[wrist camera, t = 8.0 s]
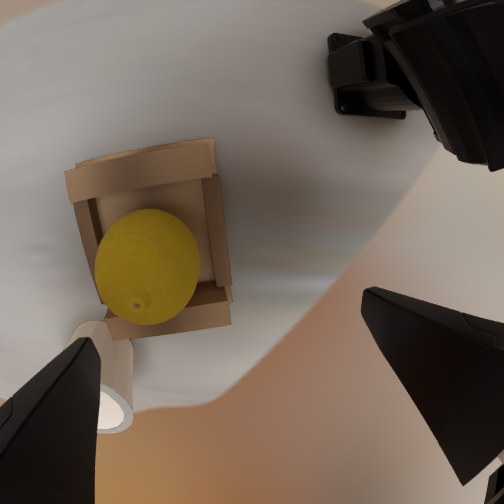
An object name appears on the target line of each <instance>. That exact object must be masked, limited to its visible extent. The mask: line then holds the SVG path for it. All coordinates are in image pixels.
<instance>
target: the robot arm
mask: <svg viewBox="0 0 504 504" xmlns="http://www.w3.org/2000/svg"><path fill="white" fill-rule="evenodd" d="M362 22H363V23H364V25H365V26H366V27H367V28H370V30H371V31H372V32H373V34H372V35H370V36H367V37H365V38H361V37H356V36H351V35H345V34H339V33H333V34H331V35H329V37H328V42H329V49H330V54H329V64H330V73H331V83H332V86H333V87H334V95H335V108H336V111H337V112H338V113H339V114H341V115H355V116H369V117H381V118H391V119H405V117H406V110H423V111H424V113H425V114H426V116H427V118H428V120H429V122H430V124H431V126H432V128H433V130H434V132H433V133H434V135H435V137H436V140H437V141H439V142H441V143H442V144H443V146H444V148H445V149H446V150H448V151H449V152H451V153H452V154H454V155H456V156H457V158H458V160H459V161H462V162H465V163H470V164H480V165H488V169H489V170H490V171H491V172H494V171H497V170H500V169H503V168H504V0H401V1H399V2H397V3H395V4H393V5H391V6H389V7H387V8H385V9H383V10H381V11H379V12H378V13H376V14H374V15H372V16H371V17H369V18H367V19H365V20H364V21H362ZM334 37H335V38H336V39H337V41H335V40H334ZM342 105H343V106H344V108H345V109H344V111H343V110H342V109H341V106H342ZM400 112H401V116H400ZM361 314H362V317H363V319H364V321H365V323H366V324H367V326H368V328H369V330H370V332H371V333H372V336H373V338H374V339H375V342H376V343H377V345H378V347H379V349H380V350H381V352H382V354H383V355H384V357H385V358H386V360H387V361H388V363H389V364H390V366H391V367H392V369H393V370H394V372H395V373H396V375H397V376H398V378H399V380H400V381H401V383H402V384H403V386H404V387H405V389H406V390H407V392H408V394H409V395H410V397H411V398H412V400H413V402H414V403H415V405H416V406H417V408H418V410H419V411H420V413H421V415H422V416H423V418H424V419H425V421H426V423H427V425H428V426H429V428H430V430H431V431H432V433H433V435H434V436H435V438H436V440H438V443H439V445H440V447H441V449H442V450H443V452H444V454H445V455H446V457H447V459H448V461H449V463H450V464H451V466H452V468H453V470H454V471H455V473H456V475H457V477H458V479H459V481H460V483H461V484H462V486H464V485H465V484H467V483H468V482H469V481H471V480H472V479H473V478H474V477H475V476H476V475H478V474H479V473H480V472H481V471H482V470H483V469H484V468H486V467H487V466H488V465H489V464H490V463H491V462H492V461H493V460H494V459H495V458H496V457H498V458H499V459H500V461H501V462H502V463H503V464H502V465H501V466H500V467H499V468H498V469H497V470H496V471H495V472H494V473H493V474H491V475H490V477H489V481H488V486H487V492H486V497H485V502H484V504H504V323H501V322H497V321H492V320H488V319H484V318H480V317H477V316H473V315H469V314H466V313H461V312H459V311H456V310H453V309H449V308H446V307H442V306H439V305H436V304H432V303H429V302H426V301H423V300H419V299H415V298H412V297H409V296H406V295H402V294H399V293H395V292H392V291H389V290H385V289H382V288H378V287H371V288H366V289H365V290H364V291H363V297H362V304H361ZM100 384H101V358H100V355H99V353H98V351H97V349H96V347H95V345H94V342H93V340H92V339H91V338H90V337H80V338H78V339H76V340H75V341H74V342H73V343H72V344H71V345H69V346H68V347H67V348H66V349H65V350H63V351H62V352H61V353H60V354H59V355H58V356H56V357H55V358H54V359H53V360H52V361H51V362H50V363H48V364H47V365H46V366H45V367H44V368H43V369H42V370H40V371H39V372H38V373H37V374H36V375H35V376H34V377H33V378H31V379H30V380H29V381H28V382H27V383H26V384H25V385H24V386H22V387H21V388H20V389H19V390H18V391H17V392H16V393H15V394H14V395H13V397H10V398H9V399H8V400H7V401H6V402H5V403H4V404H3V405H2V406H1V407H0V504H95V456H96V440H97V428H98V417H99V408H100Z"/></svg>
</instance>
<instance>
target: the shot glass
mask: <svg viewBox="0 0 504 504" xmlns="http://www.w3.org/2000/svg"><path fill="white" fill-rule="evenodd" d="M80 337H90V338H91V339H92V340H93V342H94V345H95V347H96V349H97V351H98V353H99V355H100V358H101V384H100V408H99V417H98V428H97V433H110V434H112V433H116V432H120V431H124V430H125V429H126V428H128V427H129V426H130V425H131V424H132V419H133V354H134V349H133V347H132V344H131V341H130V339H125V340H116V341H113V339H112V336H111V334H110V331H109V329H108V327H107V324H106V322H102V321H99V320H97V321H86V322H85V323H83V324H81V325H79V326H78V327H77V329H76V330H75V332H74V334H73V335H72V337H71V338H70V340H69V341H68V343H67V345H66V346H65V348H64V350H65V349H66V348H67V347H68V346H69V345H71V344H72V343H73V342H74V341H75V340H76V339H78V338H80Z"/></svg>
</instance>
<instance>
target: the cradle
mask: <svg viewBox="0 0 504 504" xmlns="http://www.w3.org/2000/svg"><path fill="white" fill-rule="evenodd" d="M64 172H65V178H66V184H67V189H68V195H69V200H70V203H73V205H74V210H75V214H76V219H77V223H78V227H79V231H80V235H81V239H82V243H83V247H84V250H85V254H86V257H87V261H88V264H89V267H90V271H91V274H92V277H93V280H94V283H95V286H96V289H97V292H98V295H99V298H100V301H101V304H105V303H104V301H103V299H102V298H101V296H100V294H99V291H98V288H97V285H96V281H95V259H96V255H97V251H98V248H99V244H100V242H101V240H102V238H103V237H104V235H105V234H106V232H107V230H108V229H109V228H110V226H112V225H113V224H114V223H115V222H116V221H117V220H118V219H119V218H121V217H122V216H124V215H126V214H128V213H130V212H132V211H136V210H141V209H146V208H147V209H159V210H162V211H165V212H168V213H171V214H172V215H174V216H175V217H177V218H178V219H180V220H181V221H182V222H183V223H184V224H185V225H186V226H187V227H188V228H189V230H190V231H191V233H192V235H193V237H194V239H195V241H196V243H197V247H198V251H199V255H200V274H199V278H198V282H197V285H196V288H195V291H194V293H193V295H192V297H191V298H190V300H189V302H188V303H187V305H186V306H185V307H184V308H183V309H182V310H181V311H180V312H179V313H178V314H177V315H176V316H175V317H173V318H171V319H169V320H167V321H165V322H162V323H158V324H155V325H139V324H134V323H131V322H128V321H126V320H123V319H122V318H120V317H119V316H117V315H116V314H114V313H113V312H112V311H111V310H110V309H109V308H108V310H107V313H106V316H105V318H104V319H105V322H106V324H107V327H108V329H109V331H110V334H111V336H112V339H113V341H116V340H125V339H134V338H143V337H151V336H159V335H166V334H174V333H181V332H188V331H194V330H201V329H207V328H213V327H219V326H225V325H231V324H232V323H231V317H230V310H229V303H231V302H233V301H232V294H231V286H230V285H232V279H231V271H230V263H229V255H228V247H227V239H226V230H225V222H224V213H223V204H222V195H221V186H220V176H219V175H218V174H217V168H216V159H215V149H214V139H213V138H208V139H200V140H192V141H185V142H178V143H172V144H166V145H160V146H154V147H149V148H143V149H138V150H133V151H128V152H124V153H119V154H114V155H110V156H106V157H101V158H97V159H93V160H89V161H85V162H82V163H78V164H76V168H74V169H71V170H68V171H64Z"/></svg>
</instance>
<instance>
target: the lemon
mask: <svg viewBox="0 0 504 504" xmlns="http://www.w3.org/2000/svg"><path fill="white" fill-rule="evenodd" d="M199 274H200V255H199V251H198V247H197V243H196V241H195V239H194V237H193V235H192V233H191V231H190V230H189V228H188V227H187V226H186V225H185V224H184V223H183V222H182V221H181V220H180V219H178V218H177V217H175V216H174V215H172V214H171V213H168V212H165V211H162V210H159V209H147V208H146V209H141V210H136V211H132V212H130V213H128V214H126V215H124V216H122V217H121V218H119V219H118V220H117V221H116V222H115V223H114V224H113V225H112V226H110V228H109V229H108V230H107V232H106V234H105V235H104V237H103V238H102V240H101V242H100V244H99V248H98V251H97V255H96V259H95V281H96V285H97V288H98V291H99V294H100V296H101V298H102V299H103V301H104V303H105V304H106V306H107V307H108V308H109V309H110V310H111V311H112V312H113V313H114V314H116V315H117V316H119V317H120V318H122V319H123V320H126V321H128V322H131V323H134V324H139V325H155V324H158V323H162V322H165V321H167V320H169V319H171V318H173V317H175V316H176V315H177V314H178V313H179V312H180V311H181V310H182V309H183V308H184V307H185V306H186V305H187V303H188V302H189V300H190V298H191V297H192V295H193V293H194V291H195V288H196V285H197V282H198V278H199Z"/></svg>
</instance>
